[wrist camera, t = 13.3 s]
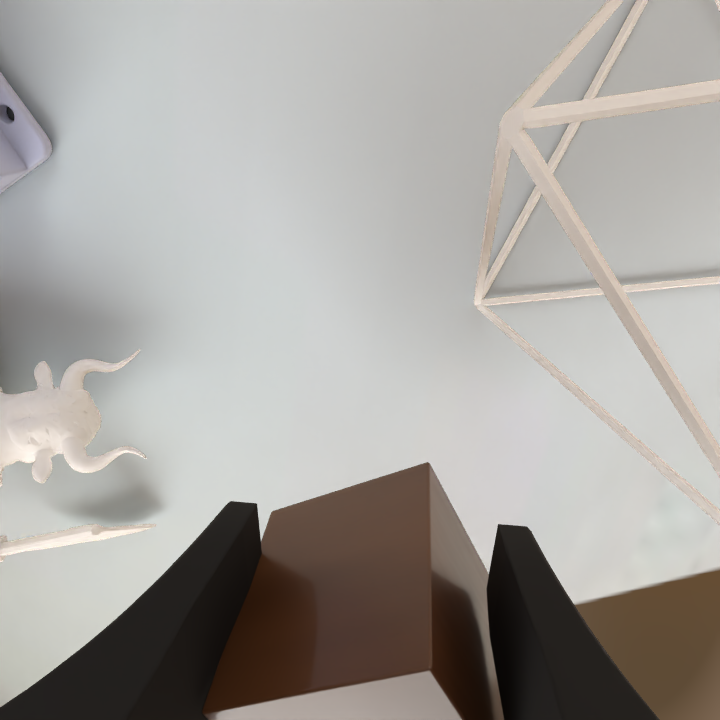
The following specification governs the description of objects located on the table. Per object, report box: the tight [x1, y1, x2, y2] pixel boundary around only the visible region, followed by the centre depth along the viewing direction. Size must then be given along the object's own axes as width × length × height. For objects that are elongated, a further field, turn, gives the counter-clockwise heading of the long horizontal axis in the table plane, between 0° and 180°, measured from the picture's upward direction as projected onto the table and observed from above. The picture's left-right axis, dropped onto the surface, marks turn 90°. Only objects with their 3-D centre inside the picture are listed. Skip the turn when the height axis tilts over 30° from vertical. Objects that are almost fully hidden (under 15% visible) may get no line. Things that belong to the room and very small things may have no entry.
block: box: [202, 462, 504, 720], centre depth 12 cm, size 4×4×5 cm
